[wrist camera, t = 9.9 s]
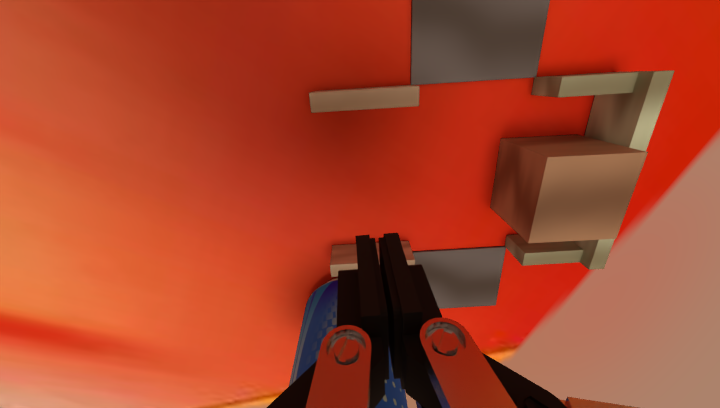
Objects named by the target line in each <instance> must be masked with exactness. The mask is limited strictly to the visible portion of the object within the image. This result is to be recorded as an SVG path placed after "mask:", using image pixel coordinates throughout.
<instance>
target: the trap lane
mask: <svg viewBox="0 0 720 408" xmlns="http://www.w3.org/2000/svg"><path fill="white" fill-rule="evenodd" d="M549 2H550V0H412V27H411V85H403V86H387V87H371V88H355V89H339V90H324V91H313V92H310V93H309V98H310V107H311V113H316V112H332V111H348V110H364V109H379V108H395V107H411V106H419V86H415V85H420V84H436V83H452V82H467V81H483V80H499V79H515V78H531V77H534V83H533V89H532V94H531V95H539V96H549V97H571V96H586V95H595V97H594V101H593V105H592V109H591V113H590V116H589V120H588V124H587V128H586V132H585V137H589V138H593V139H597V140H601V141H605V142H609V143H613V144H617V145H621V146H625V147H629V148H633V149H637V150H641V151H645V152H646V149H647V146H648V143H649V141H650V138H651V135H652V132H653V129H654V127H655V124H656V121H657V118H658V115H659V113H660V110H661V107H662V104H663V101H664V99H665V96H666V93H667V90H668V87H669V84H670V82H671V79H672V76H673V73H674V71H635V72H608V73H592V74H577V75H561V76H545V77H536V75H537V70H538V64H539V58H540V53H541V47H542V41H543V36H544V30H545V25H546V19H547V13H548V8H549ZM613 242H614V239H601V240H582V241H562V242H543V243H528V242H526V241H525V240H524V239H523V238H522V237H521V236H520V235H519V234H513V235H507V237H506V242H505V246H497V247H481V248H464V249H447V250H431V251H414V252H412V249H411V247H410V244H409V241H401V244H402V247H403V251H404V254H405V257H406V260H407V263H408V265H417V264H421V265H422V266H423V269H424V271H425V274H426V276H427V279H428V282H429V284H430V287H431V289H432V292H433V295H434V297H435V300H436V302H437V305H438V307H439V308H457V307H474V306H491V305H496V300H497V295H498V289H499V283H500V278H501V272H502V266H503V261H504V255H505V250H506V248H507V249H508V250H509V251H510V252H511V253H512V255H513V256H514V257H515V258H516V259H517V260H518V261H519V262H520V263H521V265H539V264H556V263H573V262H580V263H582V264H583V265H584V266H585V267H587V268H588V269H604V267H605V264H606V261H607V259H608V256H609V253H610V250H611V247H612V245H613ZM376 248H377V254H378V259H379V243H376ZM379 265H380V263H379ZM352 269H358V264H357V249H356V244H347V245H332V253H331V260H330V270H331V277H337V276H338V271H339V270H352Z"/></svg>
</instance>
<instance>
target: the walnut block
mask: <svg viewBox="0 0 720 408" xmlns="http://www.w3.org/2000/svg"><path fill="white" fill-rule="evenodd" d="M647 153H648V152H645V151H641V150H637V149H633V148H629V147H625V146H621V145H617V144H613V143H609V142H605V141H601V140H597V139H593V138H589V137H585V136H581V135H577V134H576V135H556V136H537V137H518V138H501V140H500V147H499V153H498V160H497V166H496V173H495V179H494V186H493V192H492V199H491V205H490V208H491V209H492V210H494V211H495V212H496V213H497V214H498V215H499V216H500V217H501V218H502V219H503V220H504V221H505V222H506V223H507V224H508V225H509V226H511V227H512V228H513V229H514V230H515V231H516V232H517V233H518V234H519V235H520V236H521V237H522V238H523V239H524V240H525V241H526V242H528V243H543V242H562V241H582V240H601V239H616V237H617V234H618V232H619V229H620V226H621V224H622V221H623V218H624V215H625V213H626V210H627V207H628V205H629V202H630V199H631V196H632V194H633V191H634V188H635V186H636V183H637V180H638V177H639V175H640V172H641V169H642V166H643V164H644V161H645V158H646V156H647Z"/></svg>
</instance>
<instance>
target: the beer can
mask: <svg viewBox="0 0 720 408" xmlns="http://www.w3.org/2000/svg"><path fill="white" fill-rule="evenodd" d="M337 293H338V278H335V279H332V280H330V281H328V282H327V283H325V284H323V285H322V286H320V287H319V288H317V289H316V290H315V291H314V292H313V293H312V295H311V296H310V297H309V299H308V301H307V304H306V308H305V313H304V318H303V322H302V327H301V332H300V336H299V341H298V346H297V351H296V355H295V360H294V365H293V369H292V374H291V379H290V384H289V386H290V385H291V384H292V383H293V382H294V381H296V380H297V379H298V378H299V377H300V376H301V375H302V374H303V373H304V372H305V371H306V370H307V369H308V368H309V367H310V366H311V365H313V364H314V363H315V362H316V361H317V359H318V355H319V351H320V347H321V344H322V341H323V339H324V337H325V336H326V335H327V334H328V333H329V332H330V331H331V330H333V329H334V328H337ZM375 408H408V407H407V400H406V395H405V389H403V390H402V387H401V382H400V379H394V376H393V370H392V364H391V357H390V351H389V380H385V395H384V397H383V398H382V399H381V401H380V402H379V403H378V405H377V406H376V407H375Z"/></svg>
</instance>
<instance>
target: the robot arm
mask: <svg viewBox="0 0 720 408" xmlns="http://www.w3.org/2000/svg"><path fill="white" fill-rule="evenodd" d="M356 249H357V264H358V269H352V270H339V271H338V293H337V328H334V329H333V330H331V331H330V332H329V333H328V334H327V335H326V336H325V337H324V339H323V341H322V344H321V347H320V351H319V355H318V359H317V361H316V362H315V363H314V364H313V365H311V366H310V367H309V368H308V369H307V370H306V371H305V372H304V373H303V374H302V375H301V376H300V377H299V378H298V379H297V380H296V381H294V382H293V383H292V384H291V385H290V386H289V387H288V388H287V389H286V390H285V391H284V392H283V393H282V394H281V395H280V396H279V397H277V398H276V399H275V400H274V401H273V402H272V403H271V404H270V405H269V406H268V407H267V408H375V407H376V406H377V405H378V403H379V402H380V401H381V399H382V398H383V397H384V395H385V380H389V351H390V357H391V364H392V370H393V376H394V379H400V382H401V387H402V390H403V389H405V391H406V393H407V394H408V395H409V396H411V397H412V398H413V399H414V400H416V404H417V408H638V407H631V406H625V405H618V404H611V403H605V402H598V401H591V400H585V399H578V398H572V397H567V399H566V401H565V400H559V399H558V398H557V397H555V396H554V395H553V394H551V393H550V392H548V391H547V390H545V389H543V388H542V387H540V386H538V385H536V384H535V383H533V382H531V381H530V380H528V379H526V378H524V377H523V376H521V375H519V374H518V373H516V372H514V371H512V370H511V369H509V368H507V367H506V366H504V365H502V364H500V363H499V362H497V361H495V360H494V359H492V358H490V357H488V356H487V355H485V354H483V353H482V352H481V351H480V349H479V348H478V346H477V345H476V343H475V342H474V340H473V339H472V337H471V335H470V334H469V332H468V331H467V330H466V329H465V328H464V327H463V326H462V325H461V324H459V323H458V322H456V321H454V320H451V319H448V318H442V315H441V313H440V310H439V307H438V305H437V302H436V300H435V297H434V295H433V292H432V289H431V287H430V284H429V282H428V279H427V276H426V274H425V271H424V269H423V266H422V265H421V264H417V265H408V263H407V260H406V257H405V254H404V251H403V247H402V244H401V241H400V238H399V235H398V233H388V234H384V237H383V238H379V259H378V254H377V248H376V242H375V238H370V237H369V235H361V236H356ZM379 263H380V265H379Z"/></svg>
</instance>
